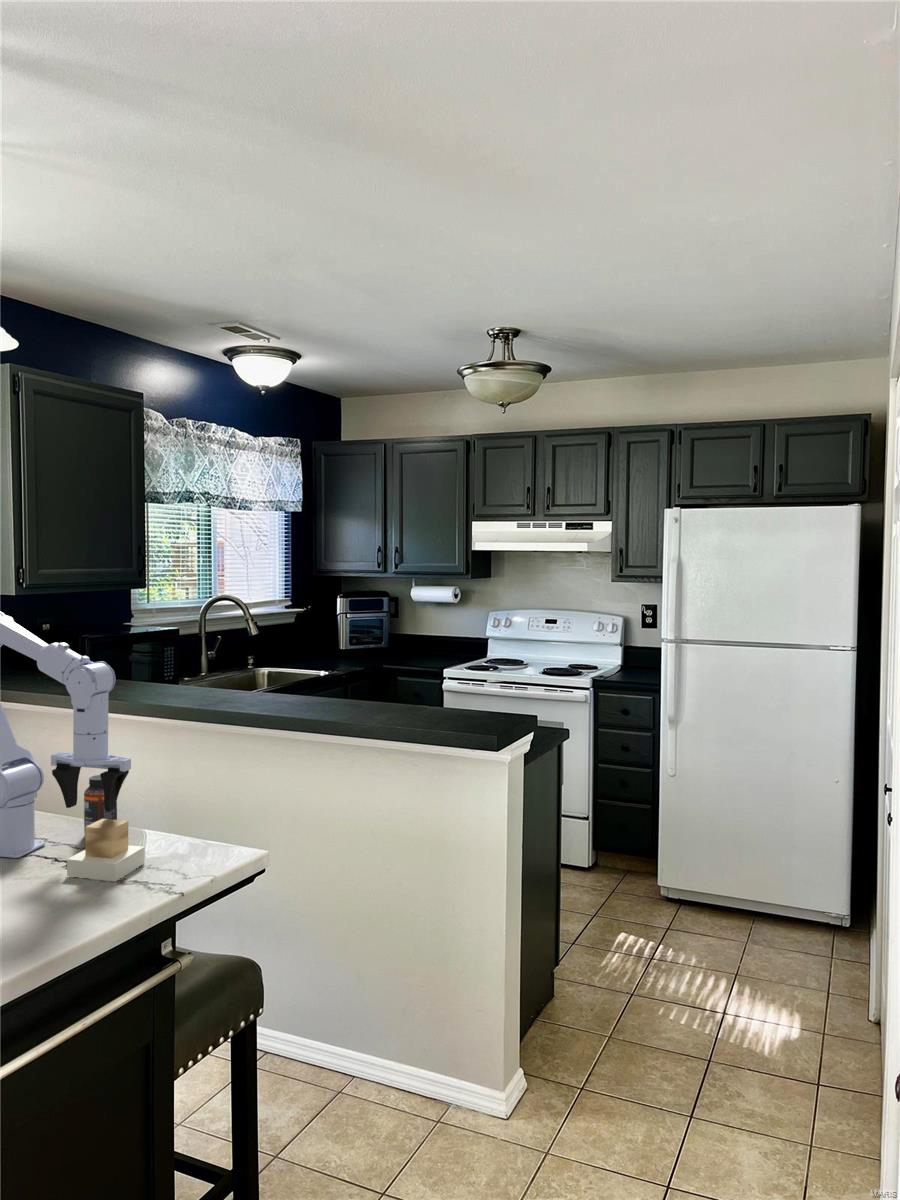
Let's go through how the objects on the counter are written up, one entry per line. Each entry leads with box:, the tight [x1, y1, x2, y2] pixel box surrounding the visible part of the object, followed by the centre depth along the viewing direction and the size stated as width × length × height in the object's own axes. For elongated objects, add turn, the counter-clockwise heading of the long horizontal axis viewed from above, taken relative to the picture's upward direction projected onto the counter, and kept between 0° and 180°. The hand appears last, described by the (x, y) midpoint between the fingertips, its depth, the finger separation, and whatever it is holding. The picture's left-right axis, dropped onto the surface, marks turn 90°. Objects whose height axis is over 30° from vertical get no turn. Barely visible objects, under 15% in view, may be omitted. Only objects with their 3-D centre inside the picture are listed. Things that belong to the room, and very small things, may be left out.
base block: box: [66, 844, 146, 883], centre depth 154 cm, size 9×9×3 cm
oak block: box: [84, 819, 129, 859], centre depth 154 cm, size 5×5×5 cm
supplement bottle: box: [83, 774, 118, 832], centre depth 173 cm, size 6×6×11 cm
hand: (90, 808), depth 159 cm, fingers open, 7 cm apart
